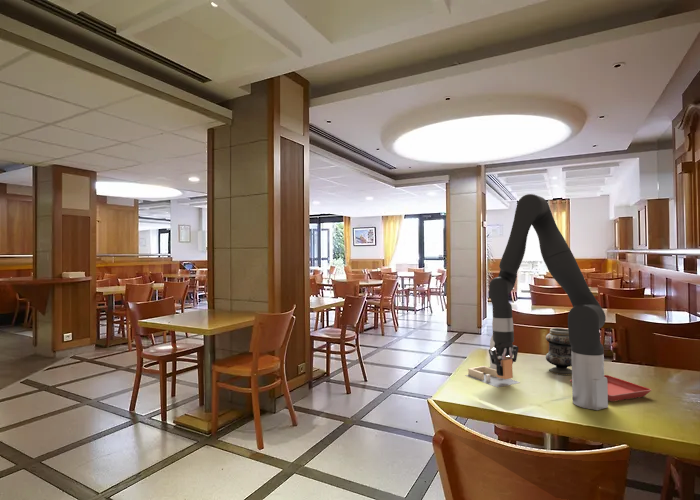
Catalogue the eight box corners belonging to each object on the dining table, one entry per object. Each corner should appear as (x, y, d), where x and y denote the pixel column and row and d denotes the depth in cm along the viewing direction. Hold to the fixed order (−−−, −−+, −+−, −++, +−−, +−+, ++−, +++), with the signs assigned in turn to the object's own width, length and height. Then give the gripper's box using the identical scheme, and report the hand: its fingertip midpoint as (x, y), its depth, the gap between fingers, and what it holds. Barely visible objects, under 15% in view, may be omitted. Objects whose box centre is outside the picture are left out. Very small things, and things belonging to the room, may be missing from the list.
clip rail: (520, 385, 151) (520, 375, 152) (497, 390, 146) (497, 380, 146) (486, 373, 167) (486, 365, 167) (465, 377, 161) (464, 369, 161)
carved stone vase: (584, 376, 161) (583, 332, 162) (554, 376, 162) (553, 332, 162) (568, 368, 173) (567, 326, 174) (540, 368, 174) (539, 327, 174)
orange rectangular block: (512, 377, 150) (512, 359, 150) (505, 379, 148) (504, 360, 148) (504, 375, 153) (503, 357, 154) (496, 376, 151) (496, 358, 152)
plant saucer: (611, 405, 131) (611, 395, 131) (568, 387, 149) (568, 379, 149) (653, 399, 136) (652, 389, 136) (606, 383, 154) (606, 374, 154)
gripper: (497, 332, 145) (498, 380, 144) (524, 328, 151) (525, 374, 150) (481, 329, 151) (483, 375, 151) (508, 326, 158) (509, 369, 157)
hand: (504, 374), depth 151 cm, fingers closed on orange rectangular block, 4 cm apart
